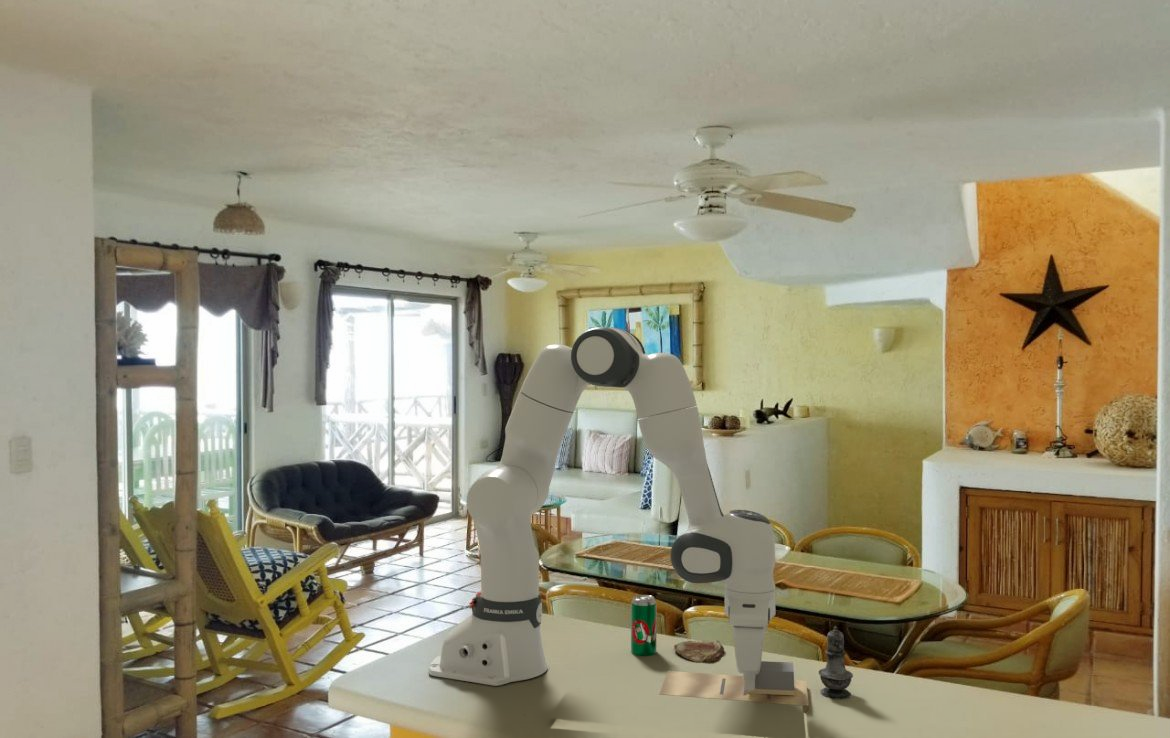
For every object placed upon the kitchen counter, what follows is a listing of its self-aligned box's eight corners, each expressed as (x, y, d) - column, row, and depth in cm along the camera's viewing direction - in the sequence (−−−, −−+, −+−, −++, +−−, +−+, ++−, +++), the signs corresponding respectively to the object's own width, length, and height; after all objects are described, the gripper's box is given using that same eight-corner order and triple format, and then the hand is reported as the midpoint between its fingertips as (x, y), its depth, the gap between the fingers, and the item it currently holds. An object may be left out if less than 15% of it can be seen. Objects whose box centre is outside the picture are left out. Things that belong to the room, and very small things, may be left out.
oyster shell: (670, 650, 178) (669, 634, 178) (718, 648, 179) (717, 633, 179) (679, 671, 165) (678, 655, 165) (731, 669, 165) (730, 653, 165)
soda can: (647, 652, 175) (647, 593, 175) (661, 659, 171) (661, 598, 171) (626, 656, 173) (626, 596, 173) (640, 663, 168) (640, 602, 168)
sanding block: (747, 693, 149) (746, 670, 149) (747, 683, 154) (747, 660, 154) (794, 695, 147) (793, 671, 147) (794, 685, 152) (793, 662, 152)
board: (659, 700, 149) (659, 693, 149) (667, 677, 161) (667, 670, 161) (808, 712, 143) (808, 705, 143) (806, 687, 155) (806, 680, 155)
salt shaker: (817, 697, 150) (816, 628, 150) (820, 686, 156) (819, 619, 156) (852, 701, 148) (852, 631, 148) (854, 690, 154) (853, 622, 154)
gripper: (734, 588, 162) (734, 662, 162) (728, 618, 142) (729, 702, 142) (768, 590, 161) (768, 664, 161) (767, 620, 141) (768, 705, 141)
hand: (750, 682), depth 151 cm, fingers closed on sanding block, 5 cm apart
